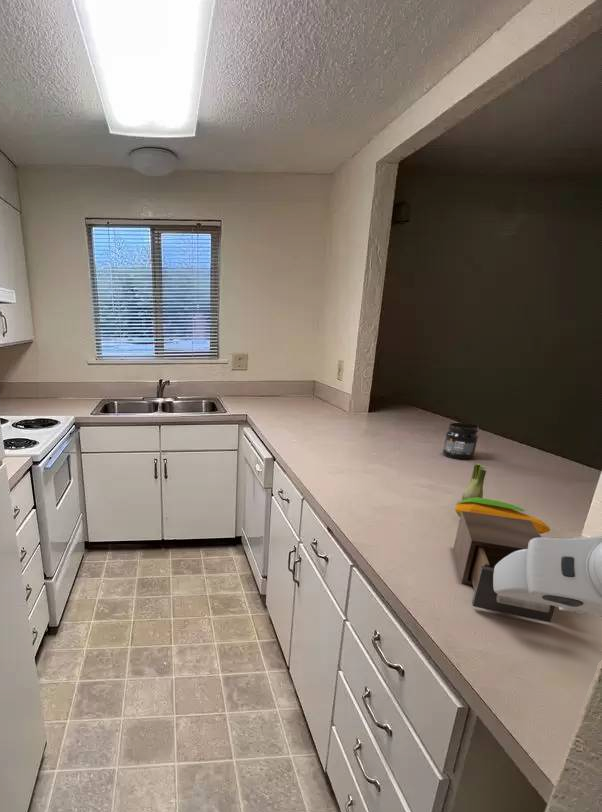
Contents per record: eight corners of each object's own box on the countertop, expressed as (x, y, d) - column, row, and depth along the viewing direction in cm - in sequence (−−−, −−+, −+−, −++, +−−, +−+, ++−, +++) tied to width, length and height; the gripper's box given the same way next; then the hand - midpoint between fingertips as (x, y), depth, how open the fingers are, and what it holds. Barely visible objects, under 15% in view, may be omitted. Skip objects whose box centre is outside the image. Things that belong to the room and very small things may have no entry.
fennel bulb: (479, 510, 120) (489, 469, 116) (459, 505, 123) (468, 466, 119) (481, 503, 125) (491, 463, 121) (462, 499, 128) (470, 460, 123)
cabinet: (538, 598, 83) (552, 553, 79) (461, 583, 88) (471, 540, 84) (519, 560, 96) (530, 520, 92) (453, 549, 100) (461, 510, 97)
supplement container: (462, 451, 172) (468, 422, 168) (479, 459, 162) (487, 428, 158) (436, 452, 171) (442, 422, 167) (452, 460, 162) (459, 429, 157)
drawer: (558, 638, 71) (572, 598, 68) (476, 620, 75) (486, 582, 73) (529, 581, 87) (539, 546, 84) (462, 568, 91) (470, 535, 88)
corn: (462, 487, 116) (557, 508, 103) (457, 512, 119) (548, 535, 106) (454, 497, 111) (553, 520, 98) (449, 523, 114) (544, 548, 101)
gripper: (773, 573, 41) (676, 601, 53) (515, 534, 49) (481, 566, 60) (788, 641, 39) (683, 654, 51) (515, 589, 46) (480, 611, 58)
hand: (572, 606), depth 56 cm, fingers closed
